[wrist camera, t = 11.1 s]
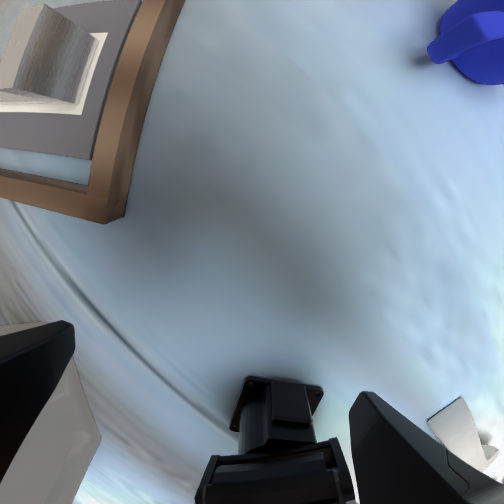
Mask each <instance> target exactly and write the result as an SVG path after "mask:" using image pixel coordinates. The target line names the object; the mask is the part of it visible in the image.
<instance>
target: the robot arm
mask: <svg viewBox="0 0 504 504" xmlns="http://www.w3.org/2000/svg"><path fill="white" fill-rule="evenodd" d="M74 351H75V330H74V326H73V324H71V323H69V322H66V321H64V320H60V321H56V322H53V323H49V324H45V325H41V326H37V327H33V328H29V329H25V330H22V331H18V332H14V333H10V334H6V335H2V336H0V484H1V482H2V480H3V478H4V476H5V474H6V472H7V470H8V468H9V466H10V465H11V463H12V461H13V459H14V457H15V455H16V454H17V452H18V450H19V448H20V446H21V445H22V443H23V441H24V439H25V438H26V436H27V434H28V433H29V431H30V429H31V428H32V426H33V424H34V423H35V421H36V419H37V418H38V416H39V414H40V413H41V411H42V410H43V408H44V406H45V405H46V403H47V402H48V400H49V398H50V397H51V395H52V394H53V392H54V390H55V389H56V387H57V385H58V383H59V381H60V379H61V377H62V375H63V373H64V371H65V369H66V367H67V365H68V363H69V361H70V359H71V358H72V356H73V354H74ZM248 382H253V383H252V384H250V383H248ZM317 392H319V393H318V394H315V393H317ZM323 395H324V393H323V389H322V388H320V387H314V386H307V385H300V384H293V383H287V382H281V381H274V380H269V379H263V378H258V377H252V376H249V377H247V378H245V380H244V383H243V386H242V389H241V392H240V395H239V398H238V401H237V404H236V407H235V410H234V413H233V416H232V419H231V422H230V427H229V428H230V430H231V431H234V432H239V447H238V455H230V456H220V455H212V456H211V458H210V461H209V463H208V465H207V467H206V470H205V472H204V475H203V477H202V480H201V482H200V485H199V487H198V490H197V492H196V495H195V504H356V501H355V494H354V489H353V484H352V479H351V476H350V472H349V469H348V466H347V464H346V461H345V458H344V455H343V452H342V450H341V447H340V444H339V441H338V439H337V437H335V438H331V439H329V440H328V441H323V442H319V443H317V441H316V436H315V432H314V427H313V420H312V416H313V414H314V412H315V410H316V408H317V406H318V404H319V403H320V401H321V399H322V397H323ZM349 425H350V438H351V451H352V459H353V465H354V470H355V476H356V482H357V488H358V494H359V500H360V504H504V484H501V483H499V482H497V481H496V480H494V479H492V478H490V477H489V476H487V475H485V474H484V473H482V472H480V471H479V470H477V469H475V468H474V467H472V466H471V465H469V464H467V463H466V462H464V461H463V460H462V459H460V458H459V457H457V456H456V455H455V454H453V453H452V452H451V451H449V450H448V449H447V450H446V448H445V447H444V446H442V445H441V444H440V443H438V442H437V441H436V440H434V439H433V438H432V437H430V436H429V435H428V434H427V433H425V432H424V431H423V430H421V429H420V428H419V427H417V426H416V425H415V424H414V423H412V422H411V421H410V420H408V419H407V418H406V417H405V416H403V415H402V414H401V413H399V412H398V411H397V410H396V409H394V408H393V407H392V406H390V405H389V404H388V403H387V402H385V401H384V400H383V399H382V398H380V397H379V396H378V395H377V394H375V393H374V392H368V391H362V392H361V393H360V394H359V395H358V397H357V399H356V400H355V402H354V404H353V405H352V407H351V409H350V411H349ZM234 426H236V427H234Z"/></svg>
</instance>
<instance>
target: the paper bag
mask: <svg viewBox="0 0 504 504" xmlns="http://www.w3.org/2000/svg"><path fill="white" fill-rule="evenodd" d="M45 324H47V323H45V322H33V323H22V324H10V325H0V336H2V335H6V334H10V333H14V332H18V331H22V330H25V329H29V328H33V327H37V326H41V325H45ZM100 442H101V435H100V433H99V430H98V428H97V425H96V423H95V420H94V418H93V415H92V413H91V410H90V407H89V405H88V402H87V399H86V396H85V393H84V391H83V388H82V385H81V382H80V378H79V375H78V372H77V369H76V365H75V362H74V359H73V356H72V358H71V359H70V361H69V363H68V365H67V367H66V369H65V371H64V373H63V375H62V377H61V379H60V381H59V383H58V385H57V387H56V389H55V390H54V392H53V394H52V395H51V397H50V398H49V400H48V402H47V403H46V405H45V406H44V408H43V410H42V411H41V413H40V414H39V416H38V418H37V419H36V421H35V423H34V424H33V426H32V428H31V429H30V431H29V433H28V434H27V436H26V438H25V439H24V441H23V443H22V445H21V446H20V448H19V450H18V452H17V454H16V455H15V457H14V459H13V461H12V463H11V465H10V466H9V468H8V470H7V472H6V474H5V476H4V478H3V480H2V482H1V484H0V504H72V502H73V500H74V498H75V495H76V493H77V491H78V489H79V486H80V484H81V482H82V480H83V478H84V476H85V473H86V471H87V469H88V467H89V465H90V463H91V461H92V458H93V456H94V454H95V452H96V450H97V448H98V446H99V444H100Z"/></svg>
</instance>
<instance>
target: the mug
mask: <svg viewBox="0 0 504 504" xmlns="http://www.w3.org/2000/svg"><path fill="white" fill-rule="evenodd" d="M440 34H441V35H440V36H439V37H438V38H436V39H435V40H434V41H432V42H431V43H430V44H429V46H428V47H427V52H428V54H429V56H430V58H431V59H432V61H433V62H434V63H436V64H441V63H444V62H447V61H449V60H452V61H453V63H454V64H455V65H456V66H457V67H458V69H459V70H461V71H462V72H463V73H464V74H465V75H466V76H467V77H469V78H470V79H472V80H474V81H476V82H478V83H481V84H486V85H499V84H504V0H458V1H457V2H456V3H455V4H454V5H452V6H451V7H450V8H449V9H448V10H447V11H446V12H445V14H444V15H443V17H442V20H441V23H440Z"/></svg>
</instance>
